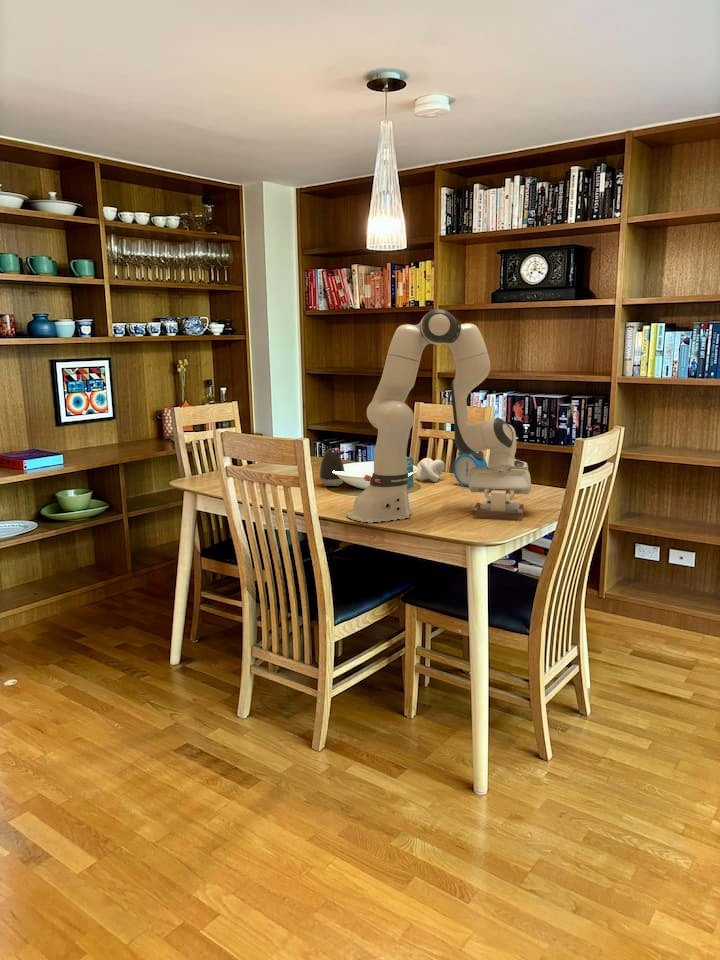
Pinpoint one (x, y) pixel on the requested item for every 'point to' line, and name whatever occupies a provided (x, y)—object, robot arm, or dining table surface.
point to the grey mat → (509, 507)
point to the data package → (410, 469)
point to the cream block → (498, 500)
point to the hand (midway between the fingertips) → (498, 502)
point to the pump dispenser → (331, 467)
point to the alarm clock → (467, 466)
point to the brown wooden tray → (497, 514)
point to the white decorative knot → (429, 469)
